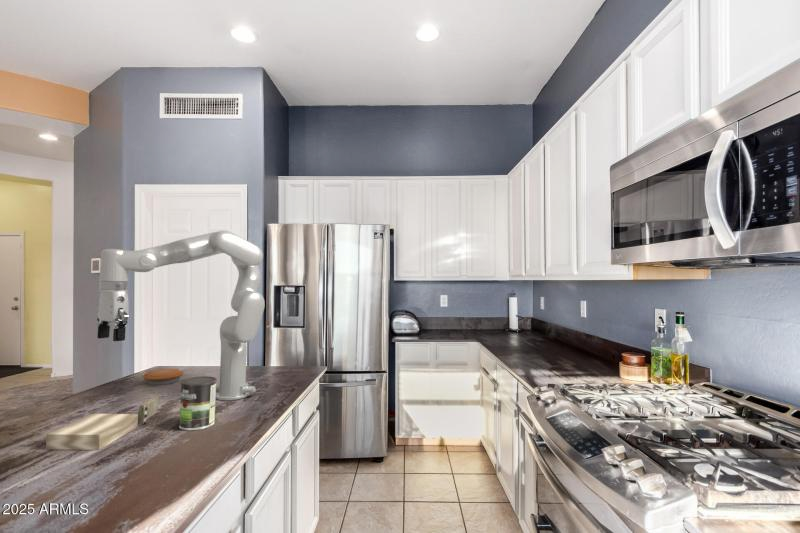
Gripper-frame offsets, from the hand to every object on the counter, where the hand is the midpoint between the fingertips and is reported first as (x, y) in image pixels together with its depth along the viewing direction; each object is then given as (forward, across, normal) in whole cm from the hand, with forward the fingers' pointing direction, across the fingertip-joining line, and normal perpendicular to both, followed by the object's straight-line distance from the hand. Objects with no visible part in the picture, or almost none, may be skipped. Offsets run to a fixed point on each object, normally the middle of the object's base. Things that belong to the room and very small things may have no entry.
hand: (111, 339), depth 126 cm
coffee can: (+26, -27, -13) cm, 40 cm away
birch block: (+26, -12, +8) cm, 30 cm away
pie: (+26, +31, -36) cm, 55 cm away
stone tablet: (+26, -9, -8) cm, 29 cm away
